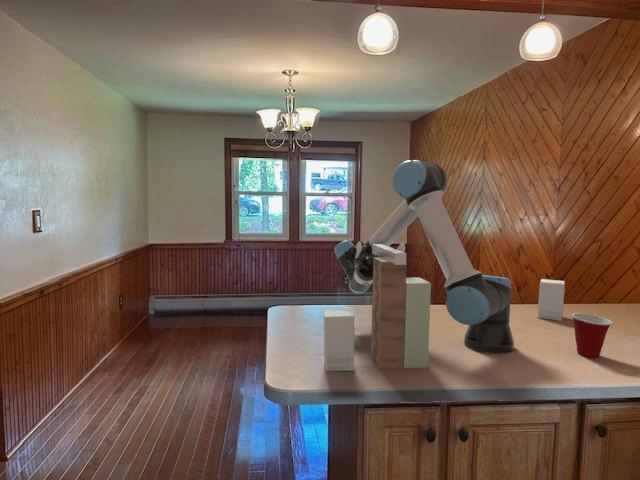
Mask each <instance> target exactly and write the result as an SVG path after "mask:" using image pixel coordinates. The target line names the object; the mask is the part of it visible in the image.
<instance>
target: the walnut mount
mask: <svg viewBox="0 0 640 480" xmlns="http://www.w3.org/2000/svg"><path fill="white" fill-rule="evenodd" d="M407 266H408V263H407V261H406V265H394V264H392V263H390V262H388V261H386V260H384V259H382V258H373V282H372V297H371V298H372V300H371V301H372V303H371V304H372V305H371V306H372V307H371V336H370V337H371V340H370V341H371V342H370V343H371V344H370V347H371V348H370V358H371V361H372V362H373V363H374V364H375V366H376V367H377V369H378V370H390V369H391V370H392V369H404V368H403V360H404V329H405V298H406V278H407Z"/></svg>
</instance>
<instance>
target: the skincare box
mask: <svg viewBox="0 0 640 480" xmlns="http://www.w3.org/2000/svg"><path fill="white" fill-rule="evenodd" d="M323 334H324V335H323V342H324V343H323V347H324V348H323V355H324V357H323V358H324V362H323V363H324V371H325V372H348V371H349V372H354V371H355V314H354V312H353V311H352V310H324V311H323Z"/></svg>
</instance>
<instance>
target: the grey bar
mask: <svg viewBox="0 0 640 480" xmlns="http://www.w3.org/2000/svg"><path fill="white" fill-rule="evenodd" d="M396 249H397V248H393V247H390V246H389V247H388V246H386V245H383V244H372V254H374V255H376V256H378V257H380V258H382V259H384V260H386V261H388V262H390V263H392V264H394V265H406V262H407V260H406V254H407V252H406V253H404V252H402V251H399V250H396Z"/></svg>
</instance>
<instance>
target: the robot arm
mask: <svg viewBox="0 0 640 480" xmlns="http://www.w3.org/2000/svg"><path fill="white" fill-rule="evenodd" d="M391 180H392V181H391V182H392V183H391V184H392V188H393V190H394V192H395V193H396V194H397V195H398V196H400V197H402V198H404V199H403V200H402V202H401V203H400V204H399V205H398V206H397V207H396V208H395V209H394V210H393V211H392V213H391V214H390V215H389V216H388V217H387V218H386V220H385V221H384V222H383V223H382V224H381V225H380V226H379V227H378V228H377V230H376V231H375V232H374V233H373V234H372V235H371V237H370V238H369V239H368V240H367V241H366V242H365V243H364V244H363V245H362V241H361V240H360V241H358V242H357V243H356V245H355V244H354V243H353V242H352V241H351V240H350V239H346V240H342V241H341V242H340V243H338V244H336V245H335V246H334V250H333V252H334V254H335V256H336V259H337V260H338V262H339V264H340V265H341V268H342V269H343V271H344V273H345V275H346V277H347V280H348V287H349V288H348V289H349V290H350V291H351V292H352V293H354V294H357V295H362V294H364V293H366V292H367V291H368V290H369V289H370V287H371V285H373V258H380V257H378V256H376V255H374V254H372V244H383V245H386V246H388V247H390V246H391V245H393V243H394V242H395V241H396V240H397V239H398V238H399V236H400V235H401V234H403V233H404V231H405V230H407V228H408V227H409V226H410V224H412V223H413V222H414V220H416V218H417V217H418V219H419V221H420V224H421V226H422V228H423V231H424V233H425V234H426V237H427V239H428V241H429V244H430V246H431V248H432V251H433V252H434V255H435V257H436V259H437V262H438V264H439V266H440V268H441V271H442V272H443V275H444V278H445V279H446V281H445V284H444V290H445V292H446V294H447V296H446V300H445V307H446V310H447V312H448V314H449V315H450V317H451V318H452V319H453V320H455V321H456V322H458V323H460V324H461V325H467V329H466V332H465V334H464V340H463V344H464V346H465V347H467V348H469V349H472V350H474V351H478V352H482V353H488V354H489V353H490V354H506V353H507V354H508V353H510V352H513V351H514V349H515V341H514V337H513V333H512V330H511V327H510V315H511V313H510V312H511V298H512V280H511V279H509V278H508V277H502V276H498V275H495V276H494V275H487V274H482V272H481V271H479V270H476V269H475V268H474V267H473V265H472V262H471V260H470V259H469V256H468V254H467V251H466V250H465V248H464V245H463V243H462V241H461V239H460V237H459V235H458V233H457V231H456V229H455V227H454V224H453V223H452V219H451V217H450V216H449V214H448V213H449V212H448V211H447V210H446V207H445V205H444V203H443V201H442V197H443V195H444V192H445V190H446V188H447V185H448V175H447V172H446V171H445V169H444V168H443V167H442V166H441V165H439V164H438V163H434V162H427V161H421V160H418V159H413V160H411V159H409V160H405V161H403V162H402V163H400V164H399V165H398V166H397V167H396V168H395V170H394V172H393V176H392V179H391ZM395 249H396V250H399V251H402V252H404V253H406V261H407V260H408V254H407V251H406V245H405V241H404V240H403V241H401V242H400V243H399V245H398V247H396V248H395Z"/></svg>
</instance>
